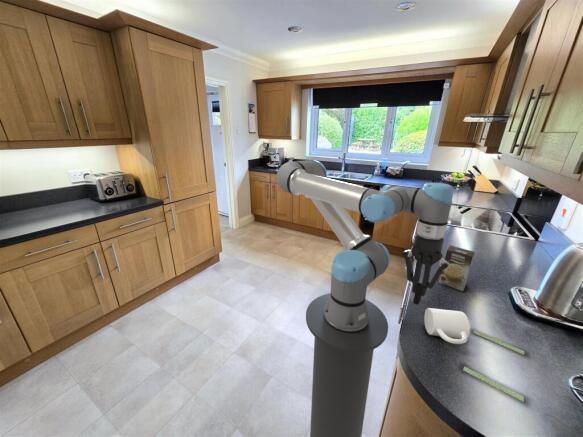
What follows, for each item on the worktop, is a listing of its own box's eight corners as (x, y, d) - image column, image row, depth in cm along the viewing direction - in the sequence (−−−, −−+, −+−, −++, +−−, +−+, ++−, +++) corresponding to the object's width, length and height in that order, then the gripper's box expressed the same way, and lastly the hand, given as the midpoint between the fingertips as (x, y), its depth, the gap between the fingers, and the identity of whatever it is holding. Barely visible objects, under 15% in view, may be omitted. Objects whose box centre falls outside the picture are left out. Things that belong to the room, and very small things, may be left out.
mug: (422, 322, 82) (426, 302, 80) (454, 326, 80) (459, 306, 78) (436, 351, 71) (441, 329, 68) (473, 356, 69) (480, 334, 67)
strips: (463, 370, 65) (463, 369, 65) (474, 330, 79) (474, 330, 78) (523, 402, 57) (523, 401, 57) (523, 351, 71) (524, 351, 71)
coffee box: (438, 283, 105) (445, 249, 100) (441, 277, 109) (449, 244, 104) (463, 291, 99) (472, 256, 94) (466, 285, 103) (475, 251, 98)
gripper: (402, 233, 74) (392, 298, 81) (452, 245, 65) (435, 317, 73) (410, 227, 79) (400, 289, 86) (457, 237, 71) (442, 305, 78)
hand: (416, 302), depth 79 cm, fingers closed
